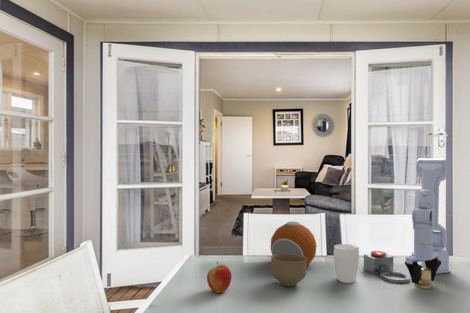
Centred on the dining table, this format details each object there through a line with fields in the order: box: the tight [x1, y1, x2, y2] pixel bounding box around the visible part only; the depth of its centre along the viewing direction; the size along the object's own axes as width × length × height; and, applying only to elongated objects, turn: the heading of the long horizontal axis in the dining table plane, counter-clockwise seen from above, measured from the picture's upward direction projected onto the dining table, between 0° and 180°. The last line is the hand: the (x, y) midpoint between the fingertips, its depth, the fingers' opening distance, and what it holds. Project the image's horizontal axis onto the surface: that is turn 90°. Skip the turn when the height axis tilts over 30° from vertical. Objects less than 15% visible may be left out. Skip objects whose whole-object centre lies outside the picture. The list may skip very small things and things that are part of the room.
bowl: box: [270, 254, 307, 287], centre depth 125 cm, size 13×13×10 cm
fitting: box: [414, 267, 433, 290], centre depth 124 cm, size 5×5×6 cm
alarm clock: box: [270, 221, 317, 268], centre depth 149 cm, size 19×18×17 cm
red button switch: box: [363, 250, 411, 285], centre depth 136 cm, size 10×20×7 cm, turn 17°
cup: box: [333, 243, 360, 284], centre depth 130 cm, size 9×9×12 cm
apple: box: [206, 261, 232, 294], centre depth 119 cm, size 8×8×10 cm
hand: (423, 281), depth 124 cm, fingers open, 7 cm apart
